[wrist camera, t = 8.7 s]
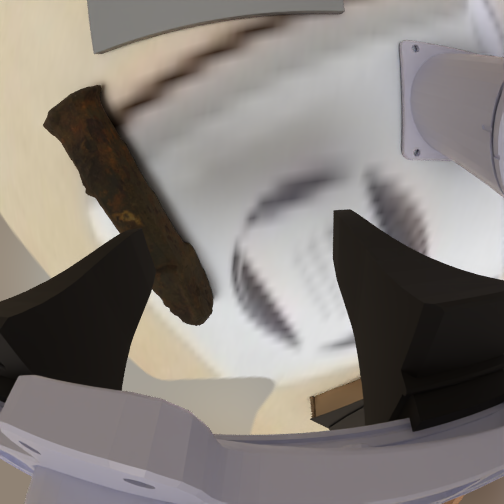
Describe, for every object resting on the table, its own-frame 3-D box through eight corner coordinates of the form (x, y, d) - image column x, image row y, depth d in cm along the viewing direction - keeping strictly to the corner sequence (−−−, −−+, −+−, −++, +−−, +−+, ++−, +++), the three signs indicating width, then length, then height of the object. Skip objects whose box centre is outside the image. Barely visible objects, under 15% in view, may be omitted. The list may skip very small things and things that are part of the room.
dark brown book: (564, 272, 18) (549, 362, 28) (544, 249, 21) (539, 344, 31) (309, 421, 31) (381, 455, 41) (307, 392, 34) (378, 435, 44)
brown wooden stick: (65, 110, 17) (25, 126, 13) (105, 79, 16) (66, 87, 12) (185, 304, 27) (173, 344, 23) (226, 292, 26) (219, 334, 22)
